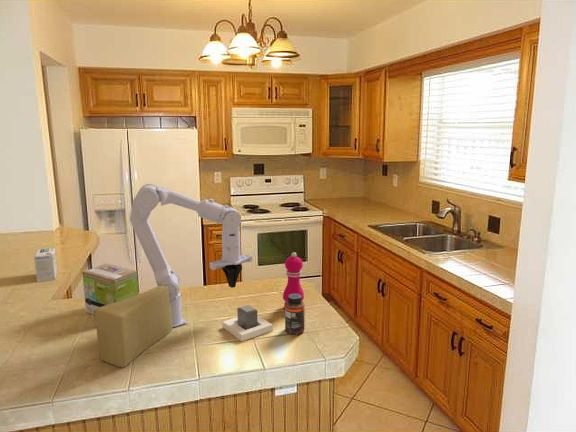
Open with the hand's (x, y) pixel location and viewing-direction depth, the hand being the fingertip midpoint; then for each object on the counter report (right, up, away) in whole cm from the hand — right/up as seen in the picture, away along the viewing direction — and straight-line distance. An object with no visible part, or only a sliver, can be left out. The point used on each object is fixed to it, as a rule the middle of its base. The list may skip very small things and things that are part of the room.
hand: (232, 286), depth 137 cm
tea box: (-40, -10, +5) cm, 42 cm away
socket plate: (+6, -12, -7) cm, 15 cm away
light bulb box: (-81, -2, +37) cm, 89 cm away
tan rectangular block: (-23, -14, -17) cm, 32 cm away
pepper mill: (+20, -9, +9) cm, 24 cm away
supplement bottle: (+20, -13, -7) cm, 25 cm away
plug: (+6, -12, -7) cm, 14 cm away
